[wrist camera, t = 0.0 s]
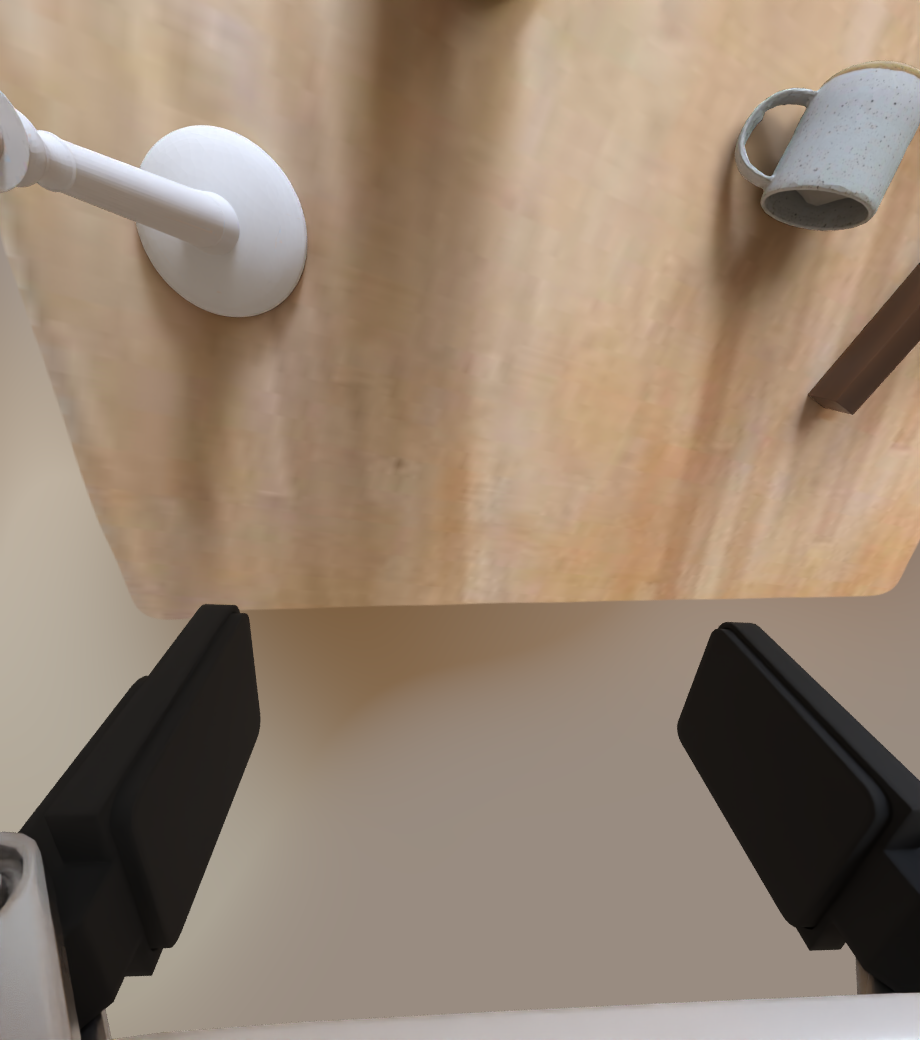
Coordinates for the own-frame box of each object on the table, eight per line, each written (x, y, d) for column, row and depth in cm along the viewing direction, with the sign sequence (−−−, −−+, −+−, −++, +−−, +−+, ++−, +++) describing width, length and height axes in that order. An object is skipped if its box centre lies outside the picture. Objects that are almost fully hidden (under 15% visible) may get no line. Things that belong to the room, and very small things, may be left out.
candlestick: (202, 341, 41) (-257, 413, 13) (101, 173, 35) (-995, -278, 8) (335, 279, 39) (131, 219, 12) (251, 95, 34) (-449, -750, 7)
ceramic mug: (874, 123, 37) (977, 79, 30) (815, 237, 40) (896, 222, 33) (760, 70, 35) (840, 11, 28) (707, 194, 39) (768, 168, 32)
